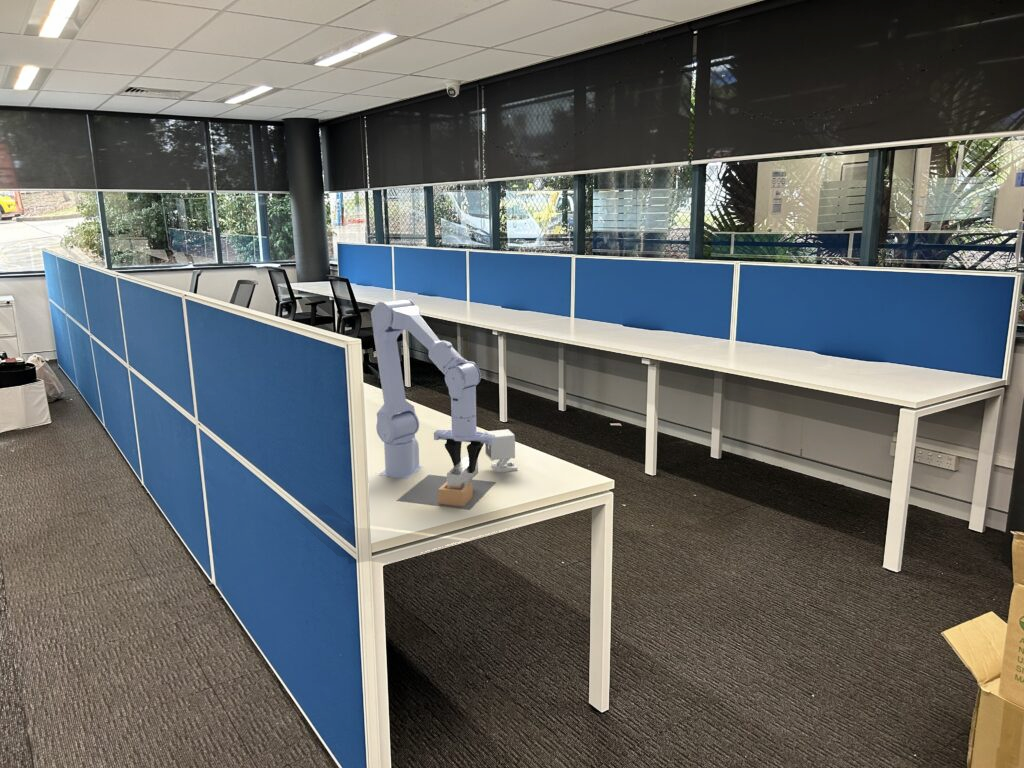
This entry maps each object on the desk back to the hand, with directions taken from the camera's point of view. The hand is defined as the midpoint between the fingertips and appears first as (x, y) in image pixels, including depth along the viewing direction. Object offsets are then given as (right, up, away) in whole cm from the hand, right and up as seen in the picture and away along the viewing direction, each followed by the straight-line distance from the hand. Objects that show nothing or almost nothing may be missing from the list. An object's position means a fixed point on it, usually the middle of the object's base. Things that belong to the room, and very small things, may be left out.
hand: (465, 471), depth 174 cm
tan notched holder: (-2, -6, -4) cm, 8 cm away
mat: (-4, -5, +2) cm, 7 cm away
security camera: (+8, -2, +17) cm, 19 cm away
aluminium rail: (0, -2, -1) cm, 2 cm away
